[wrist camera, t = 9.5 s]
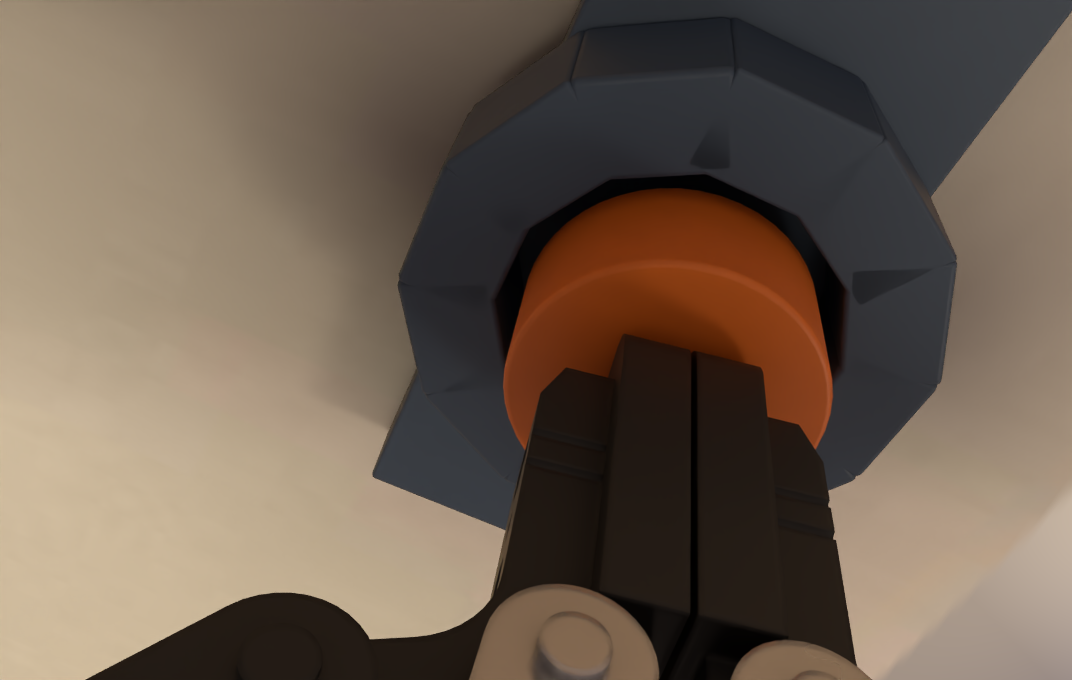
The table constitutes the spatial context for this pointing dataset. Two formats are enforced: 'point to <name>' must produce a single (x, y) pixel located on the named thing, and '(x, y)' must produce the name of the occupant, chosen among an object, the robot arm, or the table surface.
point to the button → (672, 300)
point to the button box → (719, 168)
